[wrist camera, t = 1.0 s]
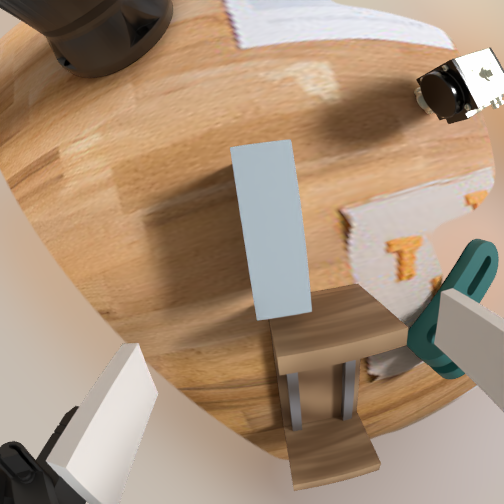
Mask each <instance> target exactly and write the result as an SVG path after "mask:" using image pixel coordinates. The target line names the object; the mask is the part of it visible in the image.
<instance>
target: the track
mask: <svg viewBox="0 0 504 504" xmlns="http://www.w3.org/2000/svg"><path fill="white" fill-rule="evenodd" d="M310 293H311V305H312V312H308V313H302V314H296V315H290V316H284V317H278V318H272V319H269V323H270V330H271V337H272V345H273V352H274V359H275V366H276V373H277V380H278V388H279V395H280V402H281V409H282V417H283V424H284V431H285V437H286V444H287V450H288V456H289V462H290V468H291V475H292V481H293V487H294V491H296V490H302V489H308V488H312V487H318V486H322V485H327V484H331V483H336V482H339V481H344V480H347V479H351V478H354V477H358V476H361V475H364V474H367V473H370V472H374V471H377V470H379V468H380V465H381V462H380V460H379V458H378V456H377V454H376V451H375V449H374V447H373V445H372V443H371V441H370V438H369V436H368V434H367V432H366V430H365V428H364V426H363V424H362V421H361V419H360V417H359V415H358V413H357V401H358V389H359V375H360V359H361V358H365V357H369V356H372V355H376V354H379V353H383V352H386V351H390V350H393V349H396V348H400V347H403V346H406V345H407V335H408V327H407V326H406V325H405V324H404V323H403V322H402V321H400V320H399V319H398V318H397V317H396V316H395V315H394V314H392V313H391V312H390V311H389V310H388V309H387V308H386V307H384V306H383V305H382V304H381V303H380V302H379V301H377V300H376V299H375V298H374V297H373V296H372V295H370V294H369V293H368V292H367V291H366V290H364V289H363V288H362V287H361V286H360V285H359V284H353V285H348V286H343V287H337V288H332V289H327V290H321V291H315V292H310Z"/></svg>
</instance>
